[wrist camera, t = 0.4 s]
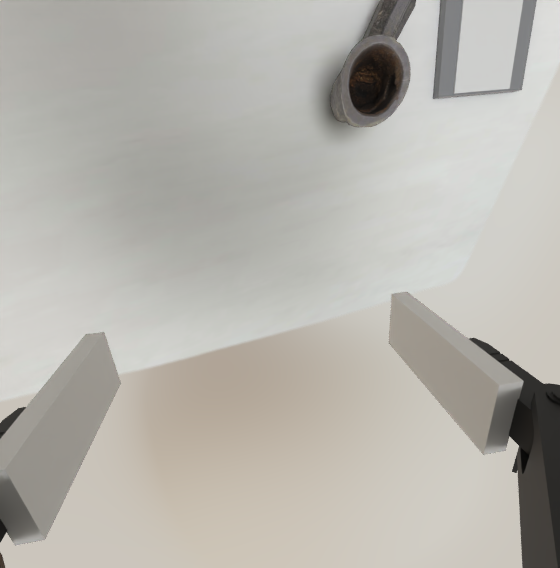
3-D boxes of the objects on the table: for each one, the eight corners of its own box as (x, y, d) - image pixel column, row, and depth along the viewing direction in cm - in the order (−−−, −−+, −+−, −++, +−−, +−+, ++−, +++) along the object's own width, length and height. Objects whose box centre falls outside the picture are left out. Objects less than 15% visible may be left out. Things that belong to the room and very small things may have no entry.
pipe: (410, 22, 33) (461, -17, 26) (352, 144, 37) (382, 141, 29) (361, -12, 32) (400, -64, 24) (305, 119, 35) (325, 109, 28)
